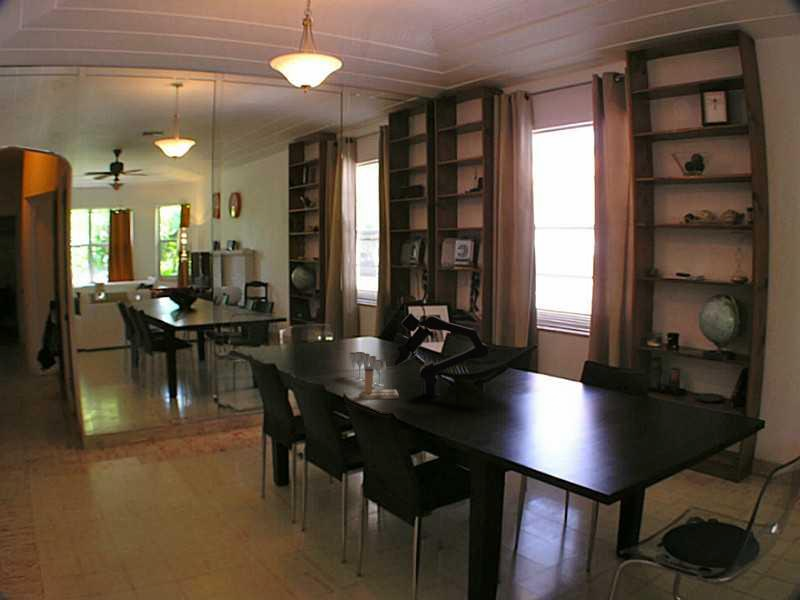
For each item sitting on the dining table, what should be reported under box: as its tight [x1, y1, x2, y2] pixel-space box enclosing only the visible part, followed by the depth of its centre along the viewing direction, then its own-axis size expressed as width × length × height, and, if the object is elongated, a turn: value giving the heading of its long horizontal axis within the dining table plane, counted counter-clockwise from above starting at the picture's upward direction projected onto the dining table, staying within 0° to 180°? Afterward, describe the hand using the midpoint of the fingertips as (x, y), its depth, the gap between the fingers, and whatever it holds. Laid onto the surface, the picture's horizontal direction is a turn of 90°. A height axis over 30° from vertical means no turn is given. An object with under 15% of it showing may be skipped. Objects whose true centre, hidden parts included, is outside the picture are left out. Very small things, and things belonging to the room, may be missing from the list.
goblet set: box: [348, 351, 387, 387], centre depth 298 cm, size 28×6×13 cm, turn 38°
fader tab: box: [363, 365, 373, 393], centre depth 269 cm, size 4×6×11 cm, turn 7°
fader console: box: [360, 389, 400, 400], centre depth 270 cm, size 16×10×2 cm, turn 97°
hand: (395, 364), depth 272 cm, fingers closed
